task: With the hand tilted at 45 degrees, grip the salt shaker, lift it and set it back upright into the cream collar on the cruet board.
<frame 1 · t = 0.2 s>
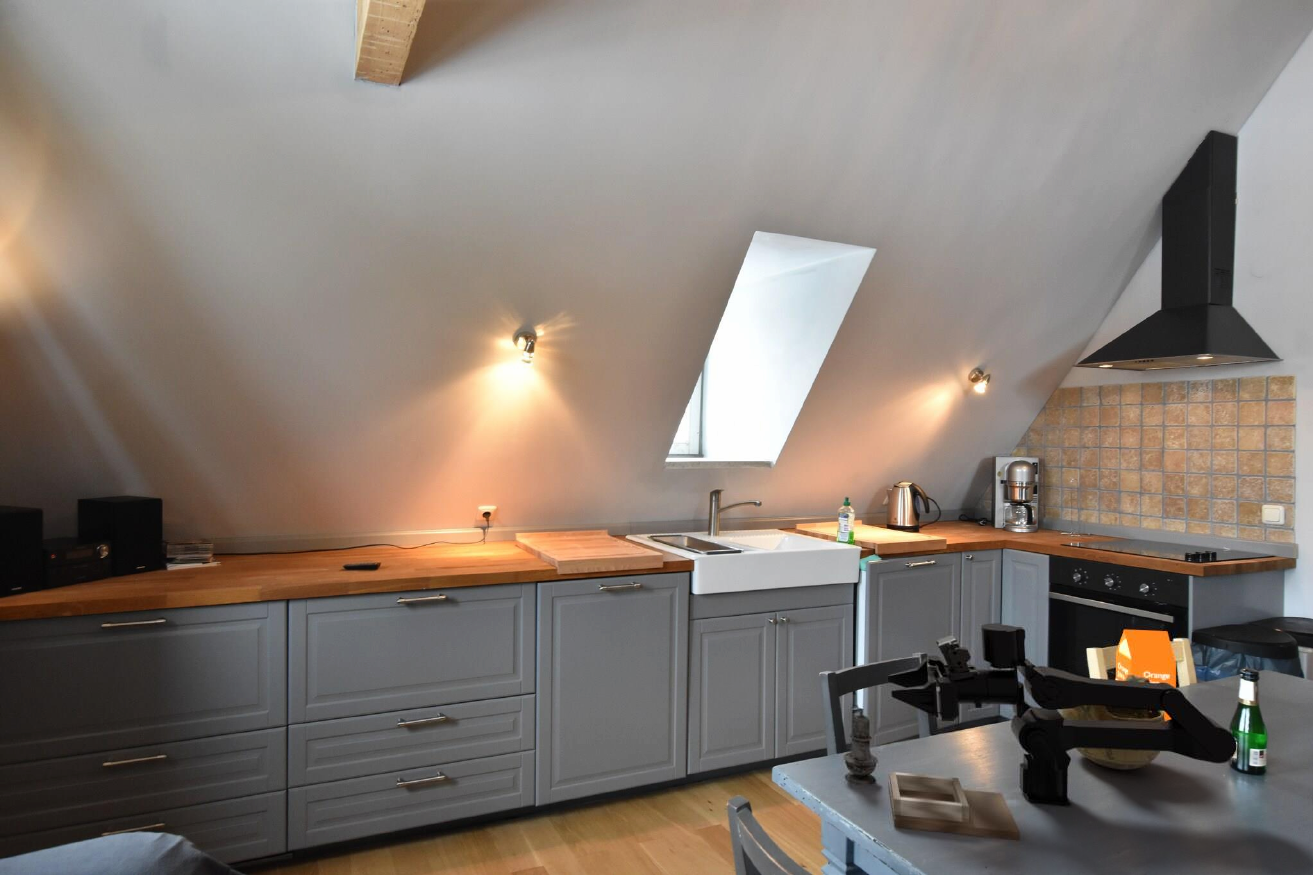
hand: (889, 685, 143), 17 cm above the table, tool horizontal, fingers open, 9 cm apart
orange juice: (1144, 725, 174), on the table
ceramic bowl: (1111, 764, 153), on the table
salt shaker: (860, 779, 144), on the table
cruet board: (949, 813, 131), on the table
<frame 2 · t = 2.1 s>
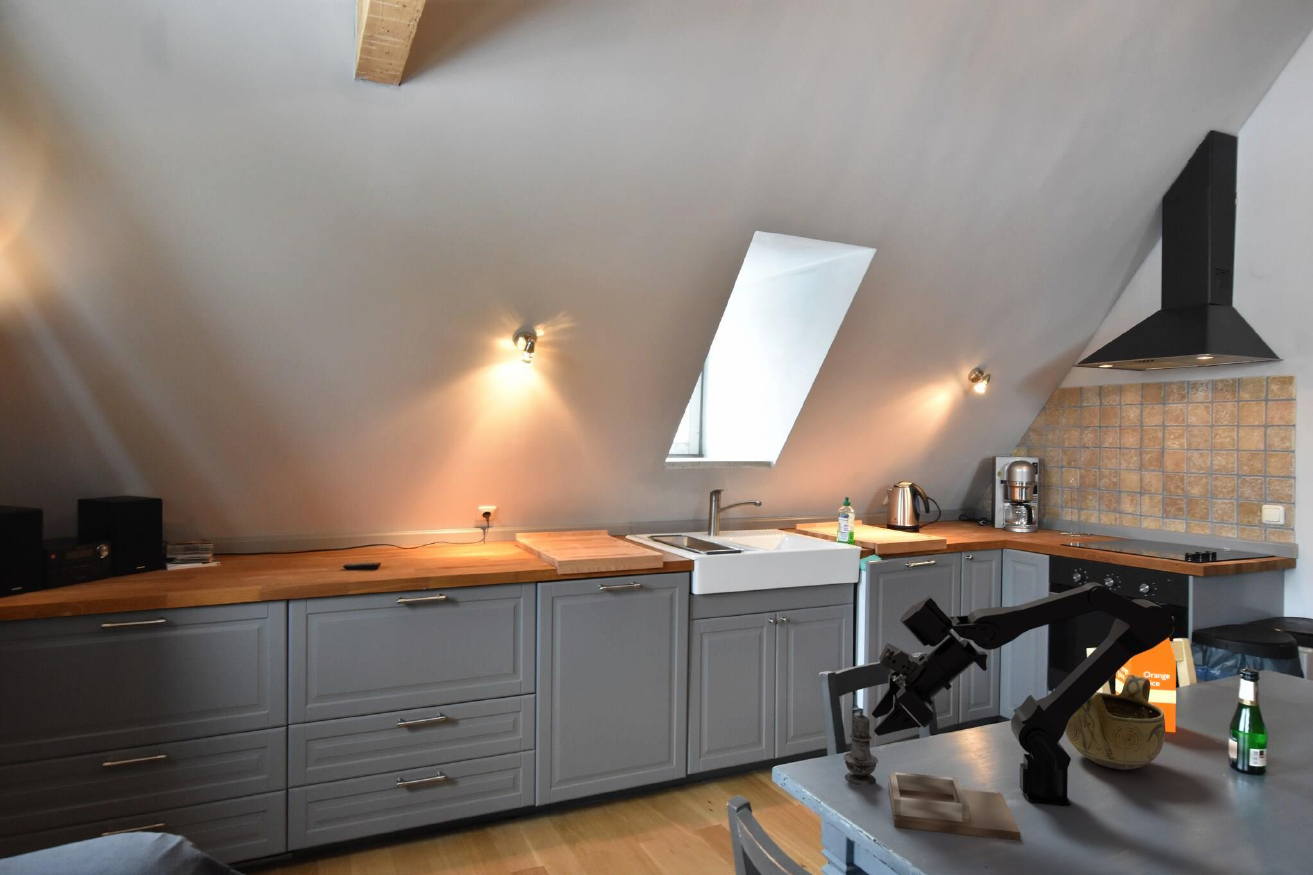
hand: (874, 724, 144), 10 cm above the table, tool tilted 45°, fingers open, 9 cm apart
nothing on the table moved.
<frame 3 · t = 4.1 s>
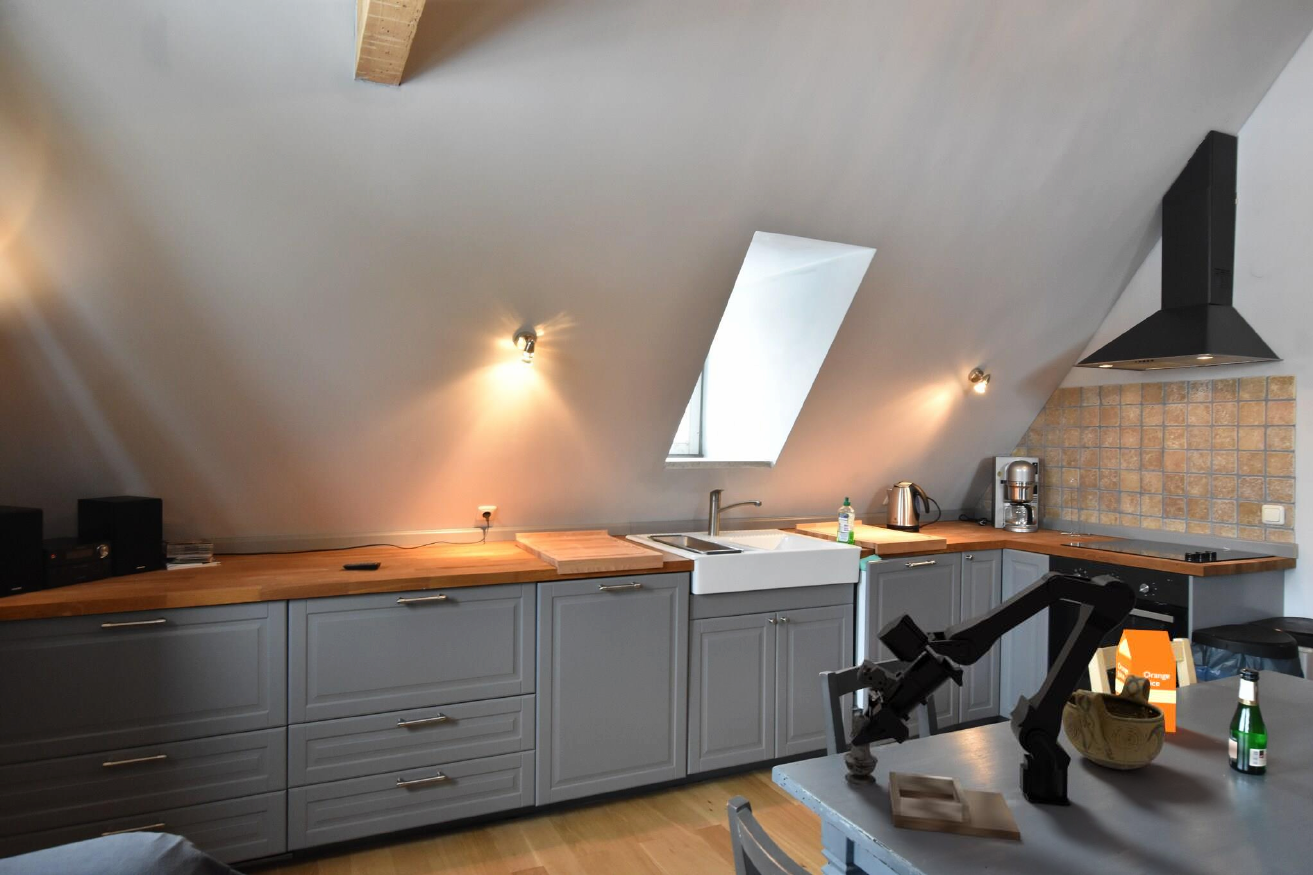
hand: (852, 740, 144), 7 cm above the table, tool tilted 45°, fingers closed on salt shaker, 4 cm apart
salt shaker: (860, 779, 144), on the table, touching gripper
everything else where it was.
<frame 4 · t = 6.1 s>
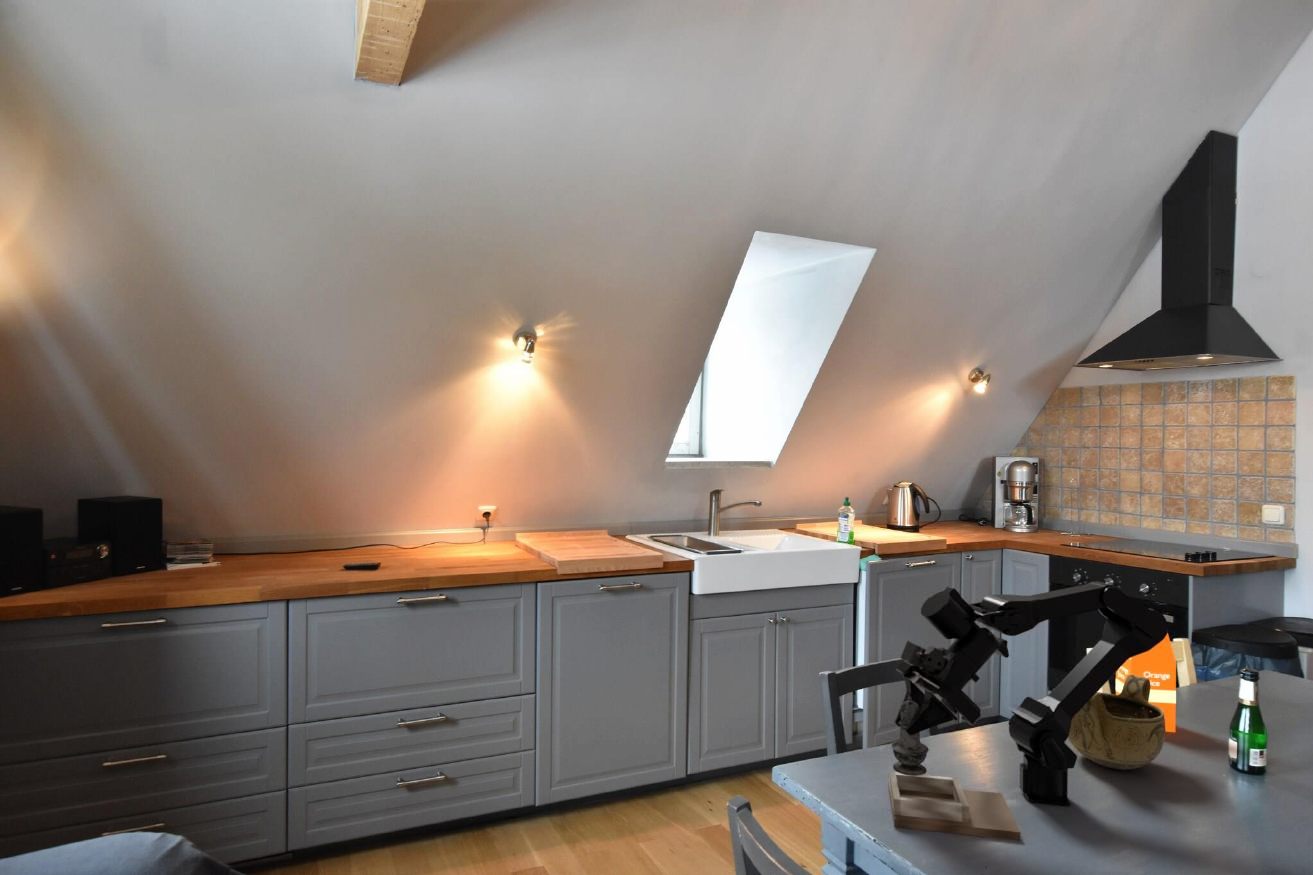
hand: (902, 728, 134), 12 cm above the table, tool tilted 45°, fingers closed on salt shaker, 4 cm apart
salt shaker: (909, 770, 134), point 5 cm above the table, touching gripper
everything else where it was.
when the fingers open (9 cm above the table, at t = 7.9 s): salt shaker stays where it is, resting on cruet board.
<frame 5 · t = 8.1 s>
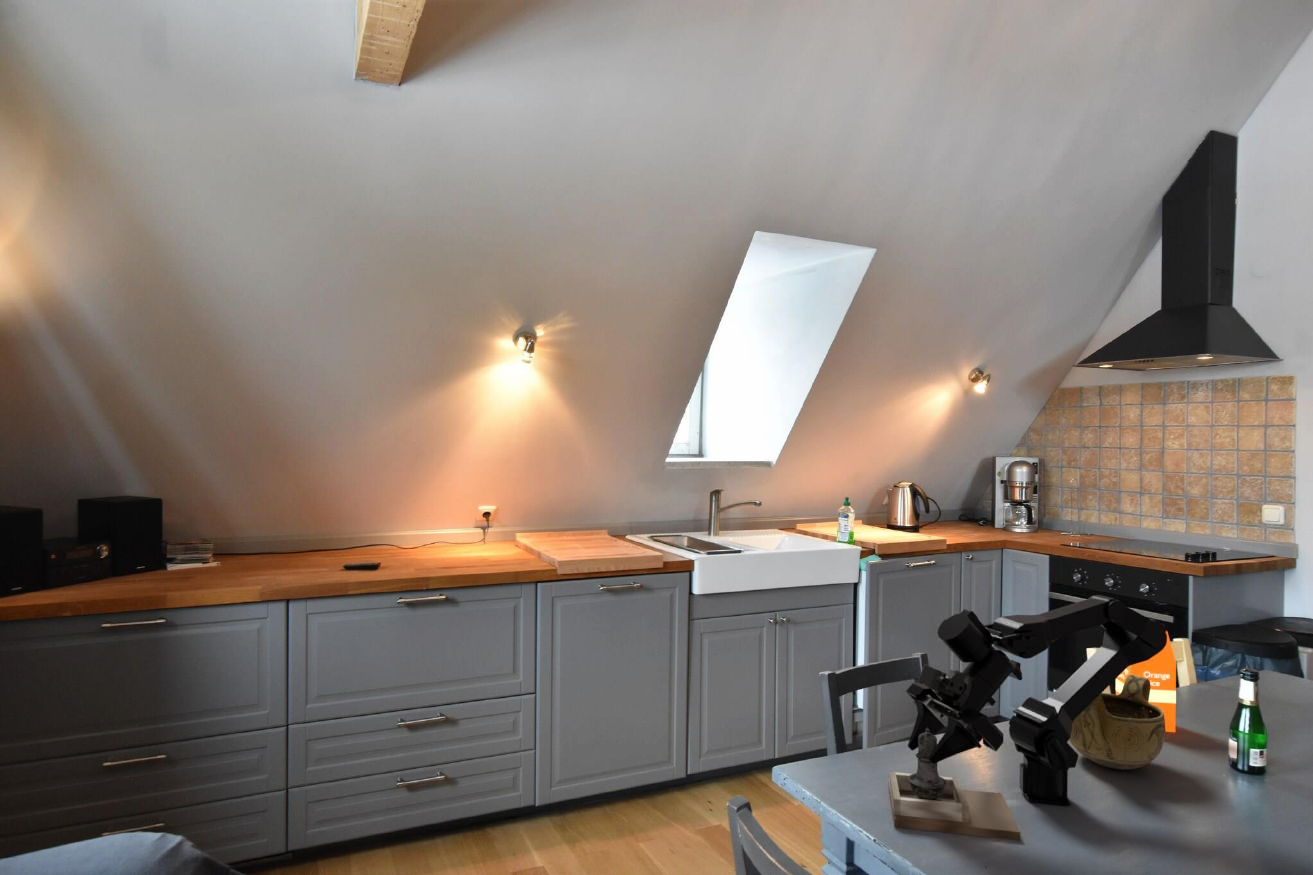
hand: (919, 754, 131), 9 cm above the table, tool tilted 45°, fingers open, 5 cm apart
salt shaker: (927, 803, 132), point 1 cm above the table, touching cruet board
everything else where it was.
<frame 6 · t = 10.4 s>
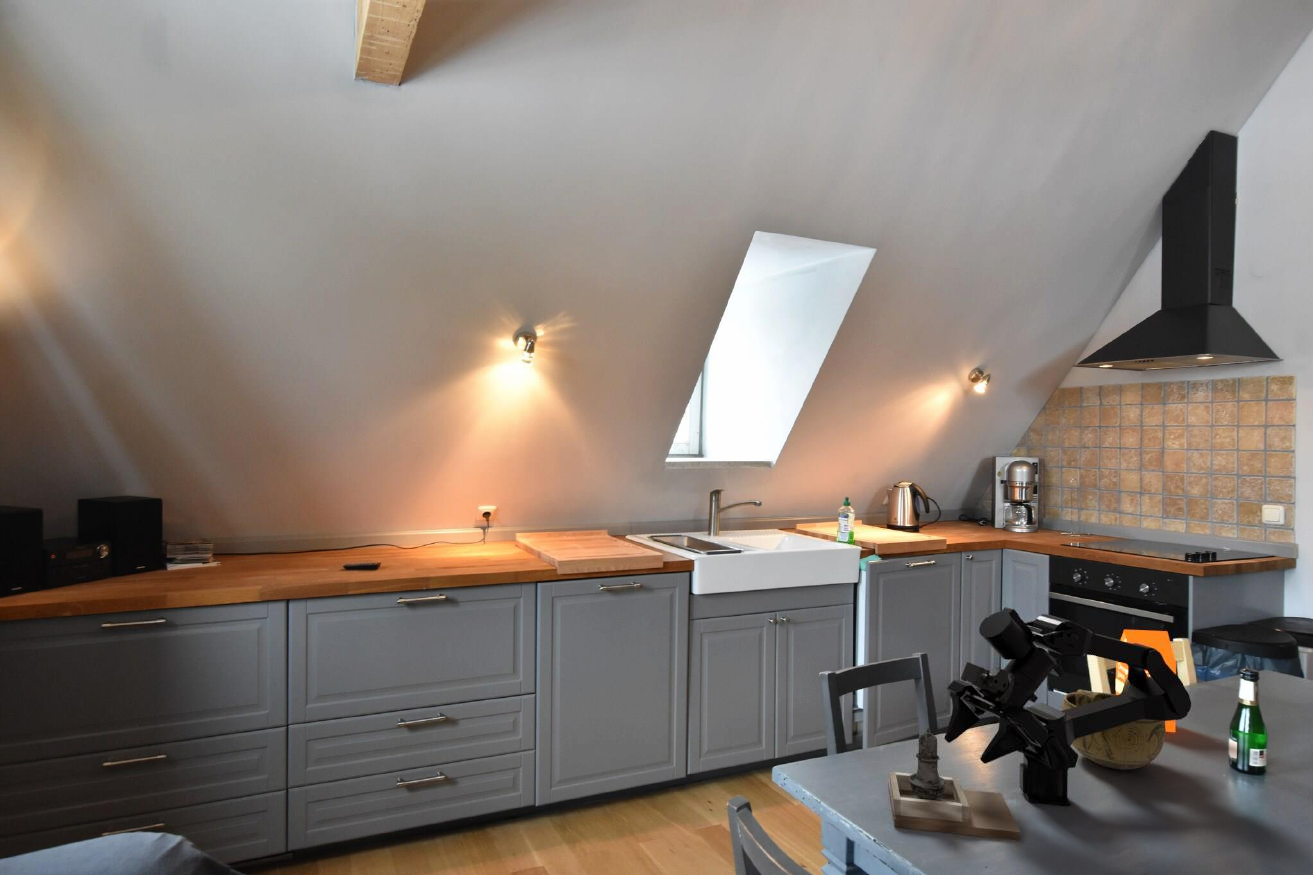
hand: (963, 750, 133), 9 cm above the table, tool tilted 45°, fingers open, 9 cm apart
ceramic bowl: (1111, 764, 153), on the table, touching arm
everything else where it was.
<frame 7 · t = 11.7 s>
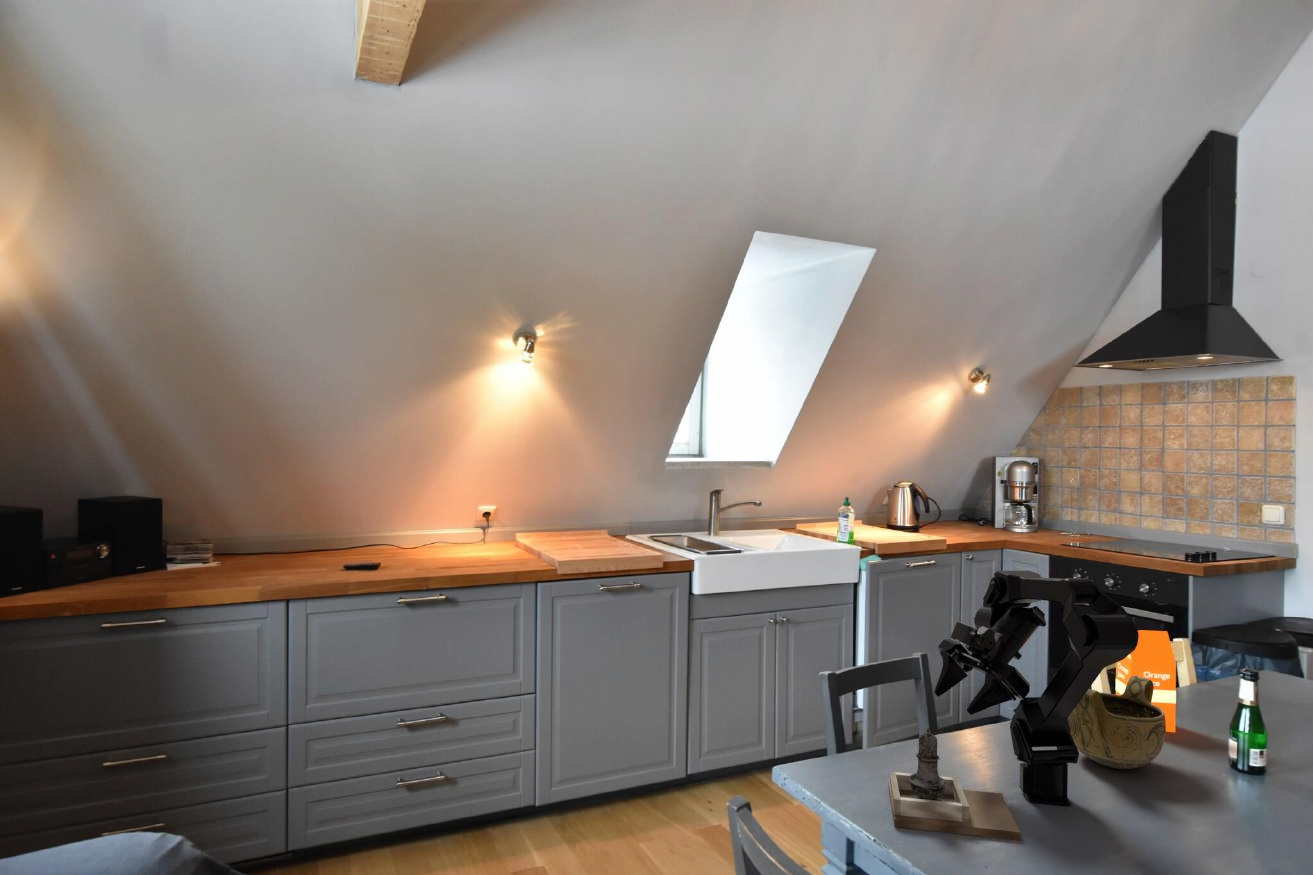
hand: (951, 703, 144), 13 cm above the table, tool tilted 45°, fingers open, 9 cm apart
ceramic bowl: (1111, 763, 153), on the table
everything else where it was.
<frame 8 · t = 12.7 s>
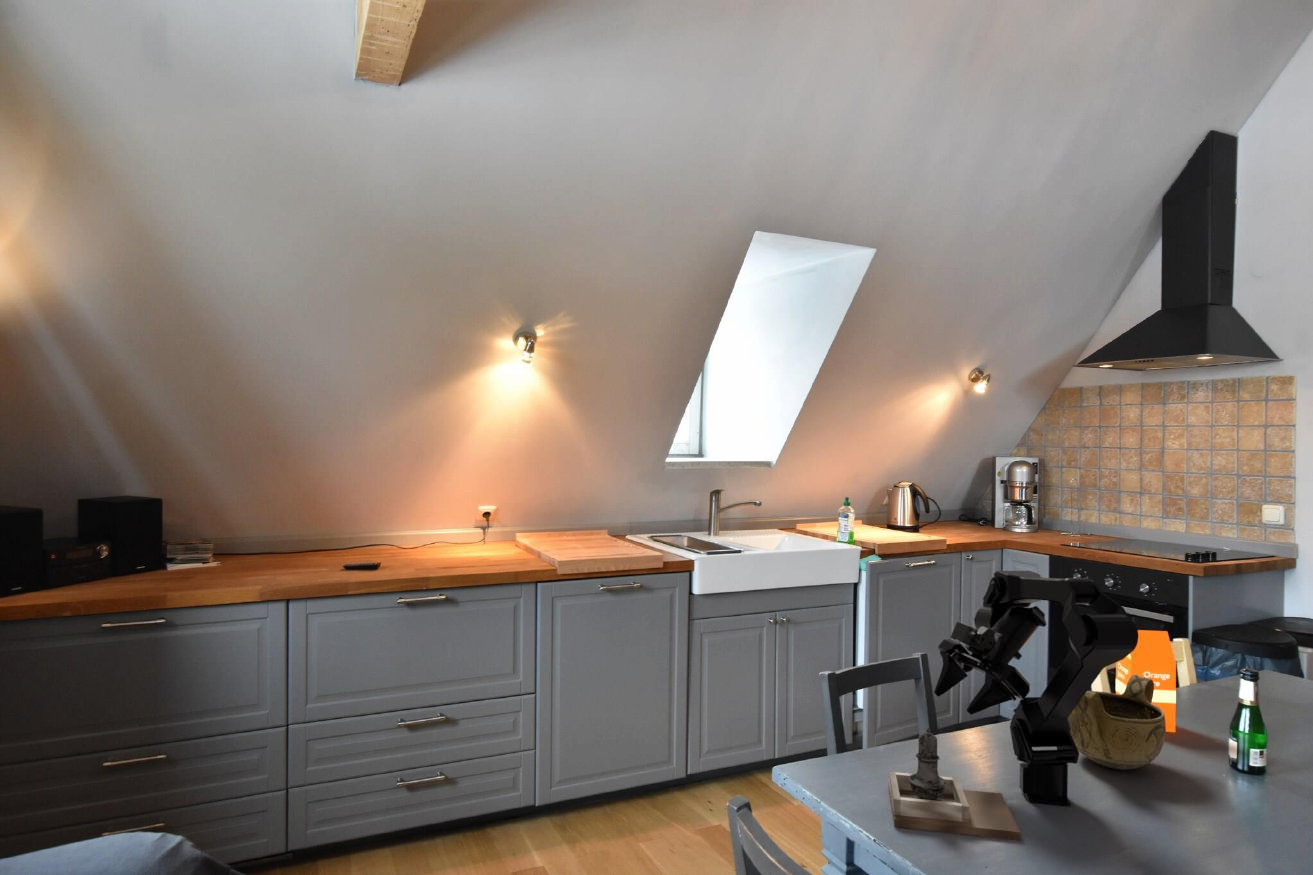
hand: (951, 703, 144), 13 cm above the table, tool tilted 45°, fingers open, 9 cm apart
nothing on the table moved.
at the end: salt shaker 0.2 cm from the target spot on the cruet board, point 1.0 cm above the cruet board's base; salt shaker tilted 0°; the gripper is holding nothing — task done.
